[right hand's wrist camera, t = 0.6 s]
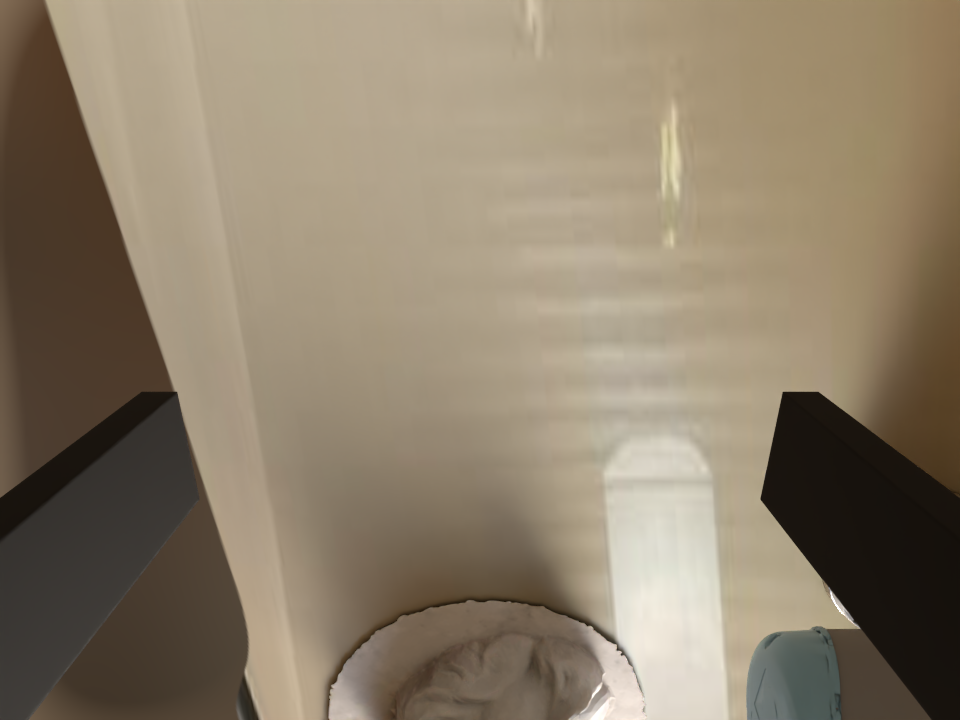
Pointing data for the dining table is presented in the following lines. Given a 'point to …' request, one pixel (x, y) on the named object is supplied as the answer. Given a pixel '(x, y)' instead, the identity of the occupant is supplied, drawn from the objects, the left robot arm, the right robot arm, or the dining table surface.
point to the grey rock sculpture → (487, 669)
